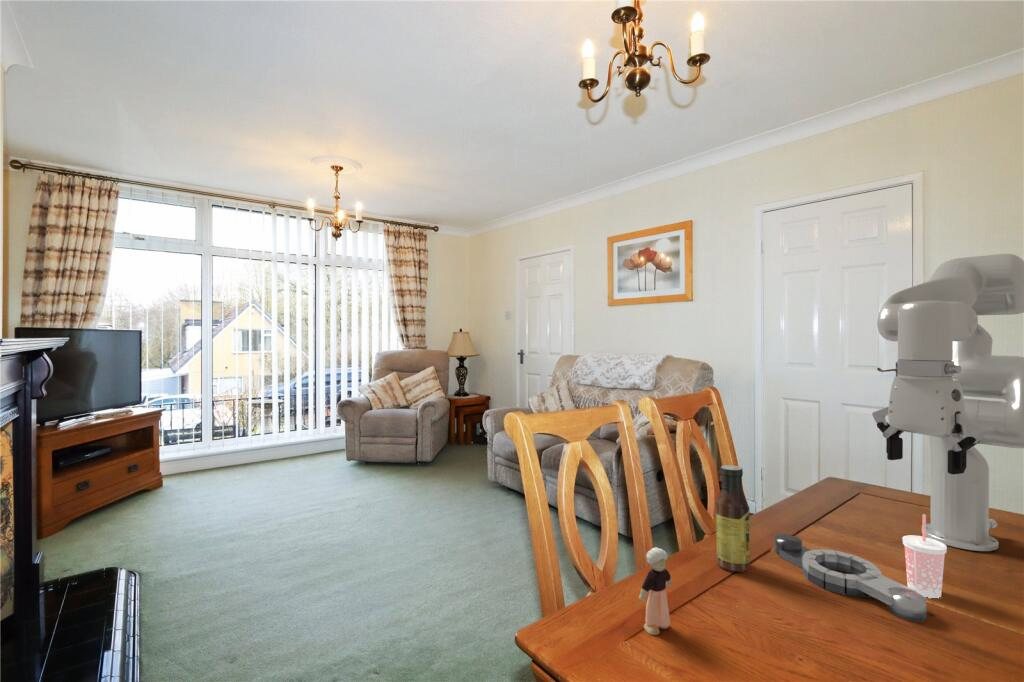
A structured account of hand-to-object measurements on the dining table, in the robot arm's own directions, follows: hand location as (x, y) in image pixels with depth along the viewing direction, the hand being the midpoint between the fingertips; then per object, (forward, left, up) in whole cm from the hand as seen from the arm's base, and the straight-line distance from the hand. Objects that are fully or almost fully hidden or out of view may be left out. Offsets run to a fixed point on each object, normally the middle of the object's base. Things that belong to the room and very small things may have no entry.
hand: (923, 466), depth 86 cm
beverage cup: (0, 0, -23) cm, 23 cm away
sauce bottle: (+25, -19, -23) cm, 39 cm away
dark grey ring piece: (+10, -12, -23) cm, 28 cm away
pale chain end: (+10, -4, -23) cm, 25 cm away
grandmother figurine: (+51, -7, -23) cm, 56 cm away
